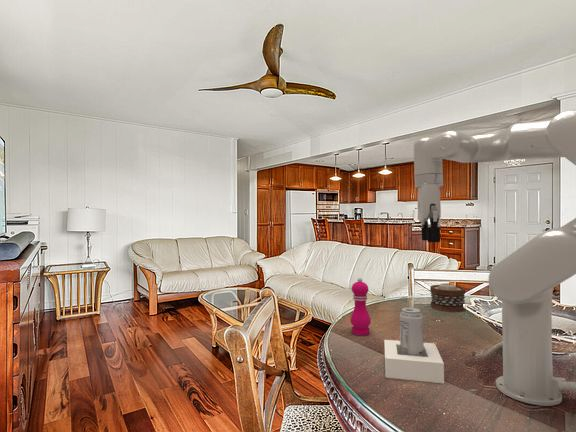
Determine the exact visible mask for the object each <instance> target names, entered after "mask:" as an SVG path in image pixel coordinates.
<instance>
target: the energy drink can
mask: <svg viewBox="0 0 576 432" xmlns="http://www.w3.org/2000/svg"><path fill="white" fill-rule="evenodd" d="M399 334H400V335H399V341H400V355H409V356H420V357H424V343H425V342H424V316H423V314H422V312H421V309H420V308H417V307H402V308H401V312H400V314H399Z"/></svg>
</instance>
